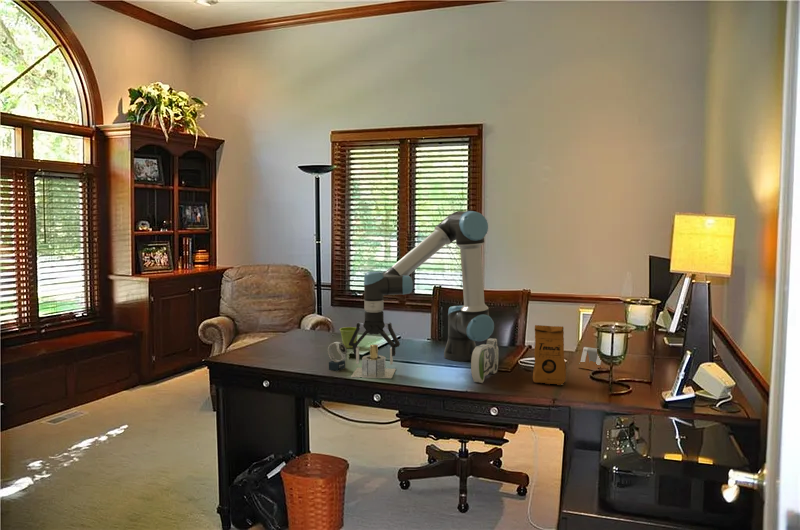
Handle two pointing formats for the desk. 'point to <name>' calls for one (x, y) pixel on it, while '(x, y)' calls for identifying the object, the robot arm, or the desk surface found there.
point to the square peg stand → (388, 374)
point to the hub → (373, 365)
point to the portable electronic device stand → (590, 355)
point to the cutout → (484, 360)
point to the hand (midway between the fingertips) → (374, 363)
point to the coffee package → (549, 355)
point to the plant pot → (347, 335)
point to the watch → (336, 364)
